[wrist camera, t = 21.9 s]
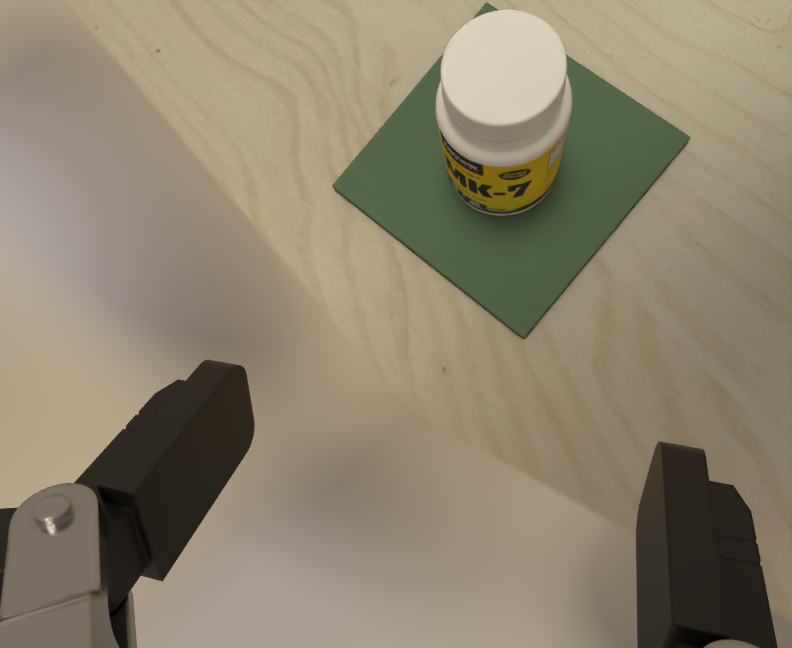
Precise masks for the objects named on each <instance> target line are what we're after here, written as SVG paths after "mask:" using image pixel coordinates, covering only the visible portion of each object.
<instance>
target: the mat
mask: <svg viewBox="0 0 792 648" xmlns="http://www.w3.org/2000/svg"><path fill="white" fill-rule="evenodd" d="M493 11H498V9H496V8H495V7H493V6H491V5H490V4H488V3H485V5H484V6H483V7H482V8H481V9H480V11H479V12H478V13H477V14H476V15H475V17H474V18H476V17H478V16H480V15H483V14H486V13H488V12H493ZM474 18H473V19H474ZM443 55H444V53H443ZM443 55H442V56H441V57H440V58H439V59H438V61H437V62H436V63H435V64H434V65H433V67H432V68H431V69H430V70H429V71H428V72H427V74H426V75H425V76H424V77H423V78H422V80H421V81H420V82H419V83H418V84H417V86H416V87H415V88H414V89H413V90H412V92H411V93H410V94H409V95H408V96H407V97H406V99H405V100H404V101H403V102H402V103H401V105H400V106H399V107H398V108H397V109H396V111H395V112H394V113H393V114H392V115H391V117H390V118H389V119H388V120H387V121H386V122H385V124H384V125H383V126H382V127H381V128H380V130H379V131H378V132H377V133H376V134H375V136H374V137H373V138H372V139H371V140H370V141H369V143H368V144H367V145H366V146H365V147H364V149H363V150H362V151H361V152H360V153H359V155H358V156H357V157H356V158H355V159H354V161H353V162H352V163H351V164H350V165H349V166H348V168H347V169H346V170H345V171H344V172H343V174H342V175H341V176H340V177H339V178H338V180H337V181H336V182H335V183H334V184H333V188H334V189H335V190H336V191H337V192H339V193H340V194H341V195H342V196H344V197H345V198H346V199H347V200H349V201H350V202H351V203H352V204H354V205H355V206H356V207H357V208H359V209H360V210H361V211H363V212H364V213H365V214H366V215H368V216H369V217H370V218H371V219H373V220H374V221H375V222H376V223H378V224H379V225H380V226H381V227H383V228H384V229H385V230H387V231H388V232H389V233H390V234H392V235H393V236H394V237H395V238H397V239H398V240H399V241H400V242H402V243H403V244H404V245H405V246H407V247H408V248H409V249H411V250H412V251H413V252H414V253H416V254H417V255H418V256H419V257H421V258H422V259H423V260H424V261H426V262H427V263H428V264H429V265H431V266H432V267H433V268H435V269H436V270H437V271H438V272H440V273H441V274H442V275H443V276H445V277H446V278H447V279H448V280H450V281H451V282H452V283H453V284H455V285H456V286H457V287H458V288H460V289H461V290H462V291H464V292H465V293H466V294H467V295H469V296H470V297H471V298H472V299H474V300H475V301H476V302H477V303H479V304H480V305H481V306H482V307H484V308H485V309H486V310H488V311H489V312H490V313H491V314H493V315H494V316H495V317H496V318H498V319H499V320H500V321H501V322H503V323H504V324H505V325H506V326H508V327H509V328H510V329H512V330H513V331H514V332H515V333H517V334H518V335H519V336H520V337H522V338H525V336H526V335H527V334H528V333H529V332H530V330H531V329H532V328H533V327H534V326H535V324H536V323H537V322H538V321H539V320H540V318H541V317H542V316H543V315H544V314H545V312H546V311H547V310H548V309H549V308H550V306H551V305H552V304H553V303H554V302H555V300H556V299H557V298H558V297H559V296H560V294H561V293H562V292H563V291H564V290H565V288H566V287H567V286H568V285H569V284H570V282H571V281H572V280H573V279H574V278H575V276H576V275H577V274H578V273H579V272H580V270H581V269H582V268H583V267H584V266H585V264H586V263H587V262H588V261H589V260H590V258H591V257H592V256H593V255H594V254H595V252H596V251H597V250H598V249H599V247H600V246H601V245H602V244H603V243H604V241H605V240H606V239H607V238H608V237H609V235H610V234H611V233H612V232H613V231H614V229H615V228H616V227H617V226H618V225H619V223H620V222H621V221H622V220H623V219H624V217H625V216H626V215H627V214H628V213H629V211H630V210H631V209H632V208H633V207H634V205H635V204H636V203H637V202H638V201H639V199H640V198H641V197H642V196H643V195H644V193H645V192H646V191H647V190H648V189H649V187H650V186H651V185H652V184H653V183H654V181H655V180H656V179H657V178H658V177H659V175H660V174H661V173H662V172H663V171H664V169H665V168H666V167H667V166H668V165H669V163H670V162H671V161H672V160H673V159H674V157H675V156H676V155H677V154H678V153H679V151H680V150H681V149H682V148H683V146H684V145H685V144H686V143H687V142H688V140H689V139H690V136H688V135H687V134H685V133H684V132H682V131H681V130H679V129H678V128H676V127H675V126H673V125H671V124H670V123H668V122H667V121H665V120H664V119H662V118H661V117H659V116H658V115H656V114H655V113H653V112H652V111H650V110H649V109H647V108H646V107H644V106H643V105H641V104H640V103H638V102H637V101H635V100H634V99H632V98H631V97H629V96H628V95H626V94H625V93H623V92H622V91H620V90H619V89H617V88H616V87H614V86H612V85H611V84H609V83H608V82H606V81H605V80H603V79H602V78H600V77H599V76H597V75H596V74H594V73H593V72H591V71H590V70H588V69H587V68H585V67H584V66H582V65H581V64H579V63H578V62H576V61H575V60H573V59H572V58H570V57H569V56H567V55H566V58H567V73H566V74H567V76H568V79H569V82H570V86H571V90H572V111H571V117H570V121H569V126H568V130H567V134H566V139H565V143H564V147H563V152H562V156H561V160H560V164H559V169H558V173H557V177H556V179H555V182H554V184H553V186H552V188H551V189H550V191H549V192H548V193H547V195H546V196H545V197H544V198H543V199H542V200H541V201H540V202H539V203H538V204H536V205H535V206H533V207H532V208H530V209H528V210H526V211H524V212H521V213H518V214H514V215H506V216H497V215H489V214H485V213H482V212H479V211H477V210H475V209H473V208H472V207H470V206H469V205H467V204H466V203H465V202H464V201H463V200H462V199H461V198H460V197H459V196H458V194H457V193H456V192H455V190H454V188H453V186H452V184H451V181H450V179H449V176H448V172H447V167H446V161H445V157H444V152H443V148H442V143H441V138H440V133H439V128H438V124H437V119H436V112H435V109H436V95H437V90H438V87H439V84H440V81H441V62H442V58H443Z"/></svg>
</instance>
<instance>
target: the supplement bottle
mask: <svg viewBox="0 0 792 648" xmlns="http://www.w3.org/2000/svg"><path fill="white" fill-rule="evenodd" d="M566 73H567V58H566V53H565V49H564V46H563V43H562V41H561V39H560V37H559V36H558V35H557V33H556V32H555V30H554V29H553V28H552V27H551V26H550V25H549V24H547V23H546V22H545V21H544V20H542V19H540V18H539V17H537V16H535V15H533V14H530V13H527V12H522V11H518V10H498V11H493V12H488V13H486V14H483V15H480V16H478V17H476V18H474V19H472V20H471V21H469V22H468V23H466V24H465V25H464V26H462V27H461V28H460V29H459V30H458V31H457V32H456V33H455V35H454V36H453V37H452V39H451V40H450V42H449V43H448V45H447V47H446V49H445V52H444V55H443V58H442V62H441V81H440V84H439V87H438V90H437V95H436V109H435V112H436V119H437V124H438V128H439V133H440V138H441V143H442V148H443V152H444V157H445V161H446V167H447V172H448V176H449V179H450V181H451V184H452V186H453V188H454V190H455V192H456V193H457V194H458V196H459V197H460V198H461V199H462V200H463V201H464V202H465V203H466V204H467V205H469V206H470V207H472V208H473V209H475V210H477V211H479V212H482V213H485V214H489V215H497V216H506V215H514V214H518V213H521V212H524V211H526V210H528V209H530V208H532V207H533V206H535V205H536V204H538V203H539V202H540V201H541V200H542V199H543V198H544V197H545V196H546V195H547V193H548V192H549V191H550V189H551V188H552V186H553V184H554V182H555V179H556V177H557V173H558V169H559V164H560V160H561V156H562V152H563V147H564V143H565V139H566V134H567V130H568V126H569V121H570V117H571V111H572V90H571V86H570V82H569V79H568V76H567V74H566Z"/></svg>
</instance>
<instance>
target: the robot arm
mask: <svg viewBox="0 0 792 648" xmlns="http://www.w3.org/2000/svg"><path fill="white" fill-rule="evenodd" d="M253 435H254V417H253V411H252V405H251V398H250V393H249V386H248V381H247V375H246V371H245V369H244V367H242V366H240V365H235V364H229V363H224V362H218V361H212V360H206V361H203V362H202V363H201V364H200V365H199V366H198V368H197V369H196V370H195V371H194V372H193V373H192V374H191V376H190V377H189V378H188V379H187V380H186V381H183V380H177V381H175V382H173V383H172V384H170V385H168V386H167V387H165V388H163V389H162V390H160V391H158V392H157V393H155V394H154V395H153V397H152V398H151V399H150V400H149V401H148V402H147V403H146V404H145V406H144V407H142V409H141V410H140V411H139V415H135V416H134V417H133V419H132V420H131V421H130V422H129V423H128V424H127V425H126V429H123V430H122V431H121V432H120V433H119V434H118V435H117V436H116V437H115V438H114V440H113V441H112V442H111V443H110V444H109V445H108V446H107V447H106V449H104V451H103V452H102V453H101V454H100V455H99V456H98V457H97V458H96V460H94V462H93V463H92V464H91V465H90V466H89V467H88V468H87V469H86V470H85V472H84V473H83V474H82V475H81V476H80V477H79V478H78V479H77V480H76V481H75V482H74V483H65V484H59V485H54V486H51V487H48V488H46V489H43V490H41V491H39V492H37V493H36V494H34V495H32V496H31V497H30V498H28V499H27V500H26V501H24V502H23V503H22V504H21V505H20V506H19V507H18V508H5V509H0V648H137V642H136V628H135V614H134V601H133V594H132V591H131V589H132V587H133V586H134V584H135V583H136V582H137V580H138V578H139V577H140V576H145V577H148V578H152V579H156V580H159V581H163V580H164V578H165V577H166V575H167V574H168V572H169V570H170V569H171V567H172V566H173V564H174V563H175V561H176V560H177V558H178V557H179V555H180V554H181V552H182V551H183V549H184V548H185V546H186V545H187V543H188V542H189V540H190V539H191V537H192V536H193V534H194V532H195V531H196V529H197V528H198V526H199V525H200V523H201V522H202V520H203V519H204V517H205V516H206V514H207V513H208V511H209V510H210V508H211V506H212V505H213V504H214V502H215V500H216V499H217V497H218V496H219V494H220V493H221V491H222V490H223V488H224V487H225V485H226V484H227V482H228V480H229V479H230V478H231V476H232V474H233V473H234V471H235V470H236V468H237V467H238V465H239V464H240V462H241V461H242V459H243V458H244V456H245V454H246V453H247V451H248V450H249V448H250V445H251V442H252V439H253ZM636 559H637V560H636V562H637V632H638V633H637V635H638V648H777V642H776V637H775V632H774V627H773V622H772V617H771V612H770V606H769V601H768V596H767V591H766V586H765V581H764V575H763V570H762V566H760V561H761V560H760V555H759V550H758V544H757V543H756V534H755V529H754V524H753V519H752V514H751V510H750V509H749V508H748V506H747V505H746V503H745V502H744V500H743V499H742V497H741V496H740V495H739V493H738V492H737V490H736V489H735V487H734V486H733V485H729V484H723V483H718V482H713V481H709V476H708V469H707V462H706V455H705V452H704V450H703V449H699V448H693V447H688V446H682V445H676V444H671V443H665V442H660V441H659V442H658V443H657V445H656V448H655V451H654V454H653V458H652V461H651V465H650V468H649V472H648V475H647V479H646V482H645V486H644V489H643V493H642V496H641V500H640V504H639V510H638V517H637V527H636Z"/></svg>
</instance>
